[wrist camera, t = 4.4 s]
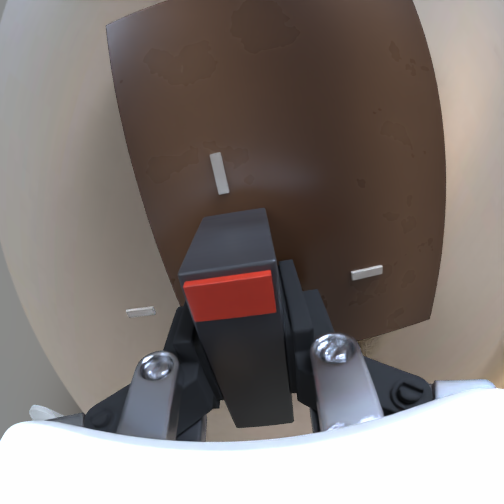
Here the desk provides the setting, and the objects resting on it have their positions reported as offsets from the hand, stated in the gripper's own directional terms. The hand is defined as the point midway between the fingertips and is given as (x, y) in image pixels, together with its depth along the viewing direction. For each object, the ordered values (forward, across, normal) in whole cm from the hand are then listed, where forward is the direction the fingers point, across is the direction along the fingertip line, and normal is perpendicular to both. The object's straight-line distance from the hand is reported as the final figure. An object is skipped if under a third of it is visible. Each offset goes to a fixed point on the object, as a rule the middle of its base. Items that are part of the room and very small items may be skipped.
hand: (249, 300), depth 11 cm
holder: (0, 0, 0) cm, 0 cm away
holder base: (+3, -2, -3) cm, 5 cm away
